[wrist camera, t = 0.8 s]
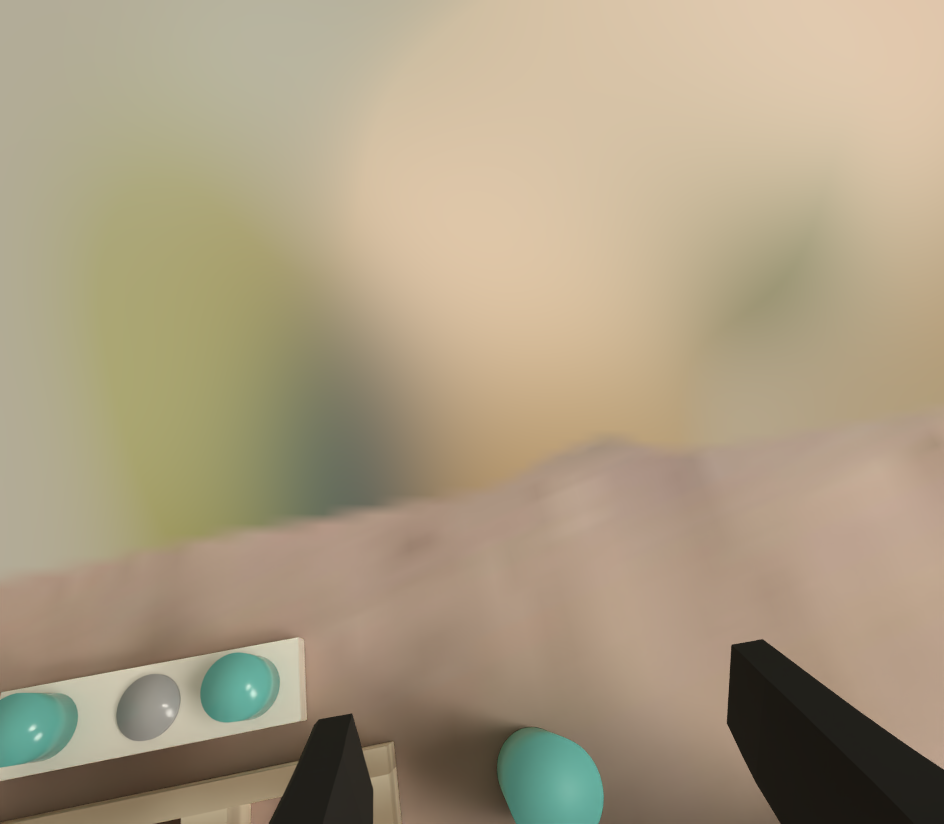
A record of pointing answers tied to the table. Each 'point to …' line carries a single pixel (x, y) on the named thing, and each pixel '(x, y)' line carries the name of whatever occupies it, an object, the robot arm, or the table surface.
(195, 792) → the beige compartment tray
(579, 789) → the pin
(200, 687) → the pattern tile
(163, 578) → the table surface
